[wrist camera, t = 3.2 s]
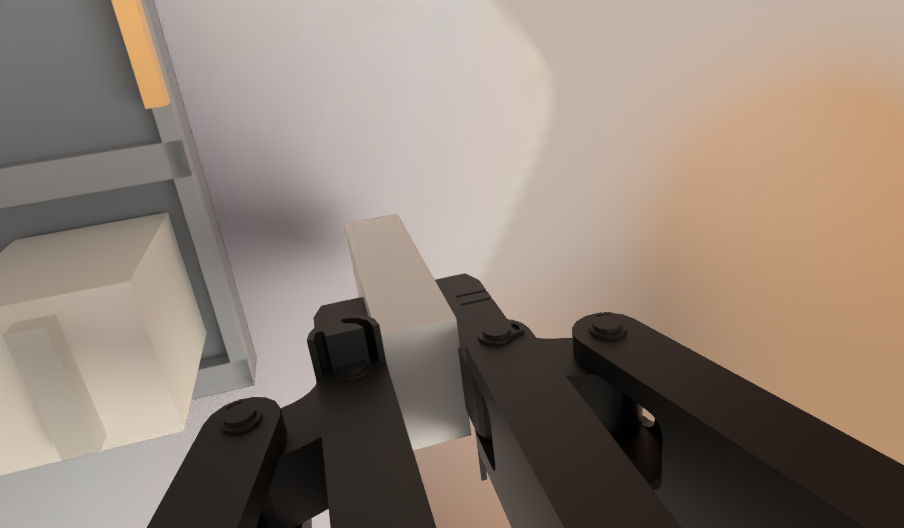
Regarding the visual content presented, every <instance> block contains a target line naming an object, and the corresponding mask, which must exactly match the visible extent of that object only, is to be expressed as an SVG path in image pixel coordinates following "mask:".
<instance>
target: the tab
mask: <svg viewBox="0 0 904 528" xmlns="http://www.w3.org/2000/svg"><path fill="white" fill-rule="evenodd" d="M205 337H206V330H205V327H204V323H203V320H202V317H201V314H200V311H199V308H198V305H197V302H196V298H195V295H194V292H193V289H192V286H191V283H190V280H189V277H188V274H187V270H186V267H185V264H184V261H183V258H182V255H181V252H180V249H179V245H178V242H177V239H176V236H175V233H174V230H173V227H172V224H171V221H170V217H169V214H168V212H166V213H161V214H155V215H150V216H144V217H139V218H133V219H128V220H122V221H116V222H111V223H105V224H100V225H94V226H89V227H83V228H78V229H72V230H66V231H61V232H55V233H50V234H44V235H39V236H33V237H28V238H22V239H16V240H14V241H13V242H12V243H11V244H9V245H8V246H7V247H6V248H5V249H4V250H3V251H1V252H0V475H5V474H9V473H13V472H17V471H21V470H25V469H30V468H34V467H38V466H42V465H46V464H50V463H54V462H58V461H63V460H67V459H71V458H75V457H79V456H83V455H87V454H91V453H95V452H100V451H104V450H108V449H112V448H116V447H120V446H124V445H128V444H132V443H137V442H141V441H145V440H149V439H153V438H157V437H161V436H165V435H169V434H174V433H178V432H182V431H184V429H185V424H186V420H187V416H188V411H189V407H190V403H191V398H192V394H193V390H194V385H195V381H196V377H197V372H198V368H199V364H200V359H201V355H202V350H203V346H204V342H205Z"/></svg>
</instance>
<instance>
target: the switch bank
mask: <svg viewBox="0 0 904 528" xmlns="http://www.w3.org/2000/svg"><path fill="white" fill-rule="evenodd" d="M166 212H168V214H169V217H170V221H171V224H172V227H173V230H174V233H175V236H176V239H177V242H178V245H179V249H180V252H181V255H182V258H183V261H184V264H185V267H186V270H187V274H188V277H189V280H190V283H191V286H192V289H193V292H194V295H195V298H196V302H197V305H198V308H199V311H200V314H201V317H202V320H203V323H204V327H205V330H206V337H205V342H204V346H203V350H202V355H201V359H200V364H199V368H198V372H197V377H196V381H195V385H194V390H193V394H192V398H191V400H194V399H198V398H202V397H207V396H211V395H215V394H219V393H224V392H228V391H232V390H236V389H241V388H245V387H249V386H253V385H255V370H256V354H255V350H254V347H253V343H252V340H251V336H250V333H249V329H248V326H247V323H246V319H245V316H244V312H243V309H242V305H241V302H240V298H239V295H238V291H237V288H236V284H235V281H234V277H233V274H232V270H231V267H230V264H229V260H228V257H227V253H226V250H225V246H224V243H223V239H222V236H221V232H220V229H219V225H218V222H217V218H216V215H215V211H214V208H213V204H212V201H211V198H210V194H209V191H208V187H207V184H206V180H205V177H204V173H203V170H202V166H201V163H200V159H199V156H198V152H197V149H196V145H195V142H194V139H193V135H192V132H191V128H190V125H189V121H188V118H187V114H186V111H185V107H184V104H183V100H182V97H181V93H180V90H179V86H178V83H177V79H176V76H175V73H174V69H173V66H172V62H171V59H170V55H169V52H168V48H167V45H166V41H165V38H164V34H163V31H162V27H161V24H160V20H159V17H158V14H157V10H156V7H155V3H154V0H0V252H1V251H3V250H4V249H5V248H6V247H7V246H8V245H9V244H11V243H12V242H13V241H14V240H16V239H22V238H28V237H33V236H39V235H44V234H50V233H55V232H61V231H66V230H72V229H78V228H83V227H89V226H94V225H100V224H105V223H111V222H116V221H122V220H128V219H133V218H139V217H144V216H150V215H155V214H161V213H166Z"/></svg>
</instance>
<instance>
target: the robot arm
mask: <svg viewBox="0 0 904 528" xmlns="http://www.w3.org/2000/svg"><path fill="white" fill-rule="evenodd" d="M345 229H346V234H347V239H348V245H349V250H350V255H351V260H352V265H353V270H354V275H355V280H356V285H357V290H358V295H359V298H355V299H351V300H346V301H341V302H337V303H332V304H328V305H323V306H321V307H320V309H319V310H318V312H317V313H316V315H315V316H314V327H315V328H314V329H313V330H312V331H311V332H310V333H309V335H308V338H307V344H308V348H309V352H310V356H311V360H312V364H313V368H314V372H315V376H316V382H317V383H316V385H315V387H314V388H313V389H312V390H311V391H310V392H309V393H308V394H306V395H305V396H304V397H302V398H301V399H299V400H297V401H296V402H294V403H292V404H290V405H287V406H285V407H283V408H281V409H280V407H279V405H278V404H277V403H276V402H275V401H274V400H271V399H268V398H266V397H251V398H246V399H240V400H237V401H234V402H233V403H229V404H227V405H225V406H223V407H222V408H221V409H219V410H218V411H216V412H215V413H213V414H212V415H211V416H210V417H209V418H208V420H207V421H206V422H205V423H204V424H203V426H202V428H201V430H200V432H199V433H198V435H197V437H196V439H195V441H194V443H193V444H192V446H191V448H190V450H189V452H188V454H187V455H186V457H185V459H184V461H183V463H182V464H181V466H180V468H179V470H178V472H177V474H176V475H175V477H174V479H173V481H172V483H171V484H170V486H169V488H168V490H167V492H166V494H165V495H164V497H163V499H162V501H161V503H160V504H159V506H158V508H157V510H156V512H155V514H154V515H153V517H152V519H151V521H150V523H149V524H148V526H147V528H312V519H311V518H313V517H314V516H316V515H318V514H320V513H322V512H324V511H325V510H327V509H329V516H330V526H331V528H436V526H435V522H434V519H433V515H432V512H431V509H430V505H429V502H428V499H427V495H426V492H425V489H424V485H423V482H422V479H421V476H420V472H419V469H418V466H417V462H416V459H415V456H414V453H413V450H416V449H420V448H424V447H427V446H431V445H435V444H439V443H443V442H446V441H450V440H454V439H457V438H461V437H465V436H469V435H471V429H470V421H469V417H470V419H471V421H472V423H473V425H474V427H475V431H476V439H477V447H478V456H479V463H480V472H481V479H482V481H483V480H486V479H487V474H486V471H487V473H488V475H489V477H490V479H491V482H492V484H493V486H494V488H495V491H496V493H497V495H498V498H499V500H500V502H501V504H502V507H503V509H504V511H505V513H506V516H507V518H508V520H509V522H510V525H511V527H512V528H904V465H902V464H901V463H899V462H897V461H895V460H893V459H891V458H890V457H887V456H886V455H884V454H882V453H880V452H878V451H877V450H875V449H873V448H871V447H869V446H867V445H866V444H864V443H862V442H860V441H858V440H856V439H854V438H853V437H851V436H849V435H847V434H845V433H843V432H842V431H840V430H838V429H836V428H834V427H832V426H831V425H829V424H827V423H825V422H823V421H821V420H820V419H818V418H816V417H814V416H812V415H810V414H809V413H807V412H805V411H803V410H801V409H799V408H797V407H796V406H794V405H792V404H790V403H788V402H786V401H784V400H782V399H781V398H779V397H777V396H775V395H774V394H772V393H770V392H768V391H766V390H764V389H762V388H761V387H759V386H757V385H755V384H753V383H751V382H750V381H748V380H746V379H744V378H742V377H740V376H739V375H737V374H735V373H733V372H731V371H729V370H727V369H725V368H723V367H722V366H720V365H718V364H716V363H714V362H713V361H711V360H709V359H707V358H705V357H703V356H701V355H700V354H698V353H696V352H694V351H692V350H691V349H689V348H687V347H685V346H683V345H681V344H680V343H678V342H676V341H674V340H672V339H670V338H669V337H667V336H665V335H663V334H661V333H659V332H657V331H656V330H654V329H652V328H650V327H648V326H646V325H644V324H643V323H641V322H639V321H637V320H635V319H633V318H631V317H628V316H625V315H623V314H615V313H611V312H604V313H596V314H592V315H588V316H585V317H583V318H582V319H580V320H578V321H576V323H575V324H574V326H573V327H572V337H573V338H559V339H541V338H536V337H535V335H534V334H533V333H532V332H531V330H530V329H529V328H528V327H527V326H525V325H524V324H522V323H521V322H517V321H514V320H508V319H507V318H506V317H505V316H504V314H503V313H502V311H501V310H500V308H499V307H498V306H497V304H496V303H495V302H494V300H493V299H492V298H491V296H490V295H489V293H488V292H487V291H486V289H485V288H484V286H483V285H482V284H481V282H480V281H479V280H478V279H476V278H474V277H471V276H469V275H467V274H465V273H464V274H460V275H455V276H450V277H446V278H441V279H436V280H434V278H433V276H432V274H431V273H430V271H429V269H428V267H427V266H426V264H425V262H424V260H423V258H422V257H421V255H420V253H419V251H418V250H417V248H416V246H415V244H414V242H413V241H412V239H411V237H410V235H409V234H408V232H407V230H406V228H405V226H404V225H403V223H402V221H401V219H400V218H399V216H398V214H393V215H388V216H382V217H377V218H372V219H367V220H362V221H356V222H351V223H346V224H345ZM642 408H645V409H646V410H647V411H648V412H650V413H651V414H652V415H653V416H654V418H655V421H654V422H652V421H650V420H649V419H647V418H646V417H645V416H643V409H642Z"/></svg>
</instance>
